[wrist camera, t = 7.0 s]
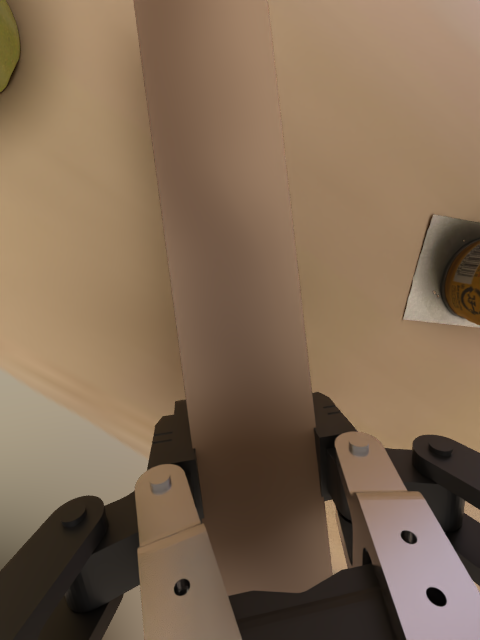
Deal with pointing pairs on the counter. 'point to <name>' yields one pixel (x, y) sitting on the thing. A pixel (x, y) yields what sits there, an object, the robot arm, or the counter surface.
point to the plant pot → (7, 44)
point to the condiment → (447, 275)
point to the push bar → (236, 287)
